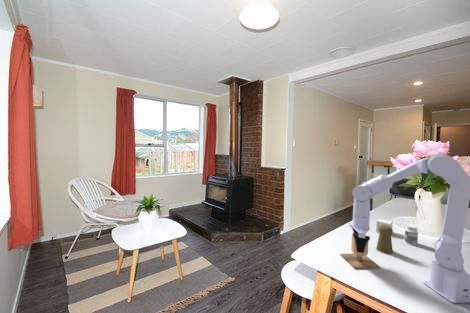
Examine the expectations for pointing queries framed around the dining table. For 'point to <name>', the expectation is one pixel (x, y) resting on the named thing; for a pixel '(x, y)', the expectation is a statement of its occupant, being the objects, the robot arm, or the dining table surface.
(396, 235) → the dining table surface
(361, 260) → the plate
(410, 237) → the pill bottle
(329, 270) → the dining table surface
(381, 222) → the white beige cube
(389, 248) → the olive flared column
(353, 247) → the wooden slatted pot
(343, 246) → the dining table surface
